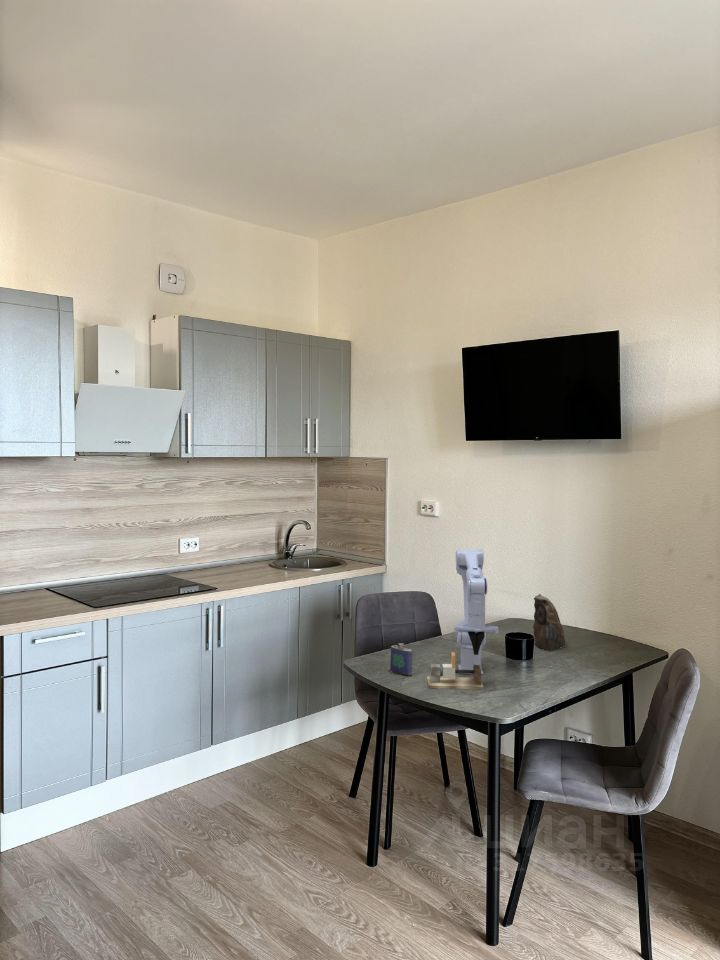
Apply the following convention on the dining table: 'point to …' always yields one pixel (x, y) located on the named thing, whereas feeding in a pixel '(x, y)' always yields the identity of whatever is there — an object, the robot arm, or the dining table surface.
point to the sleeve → (449, 668)
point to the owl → (547, 625)
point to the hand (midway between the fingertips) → (475, 654)
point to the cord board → (456, 683)
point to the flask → (401, 660)
